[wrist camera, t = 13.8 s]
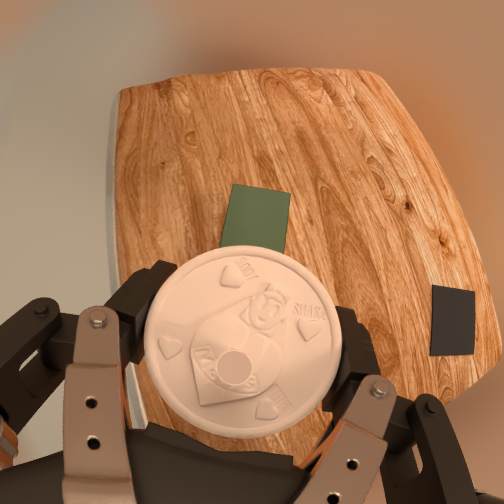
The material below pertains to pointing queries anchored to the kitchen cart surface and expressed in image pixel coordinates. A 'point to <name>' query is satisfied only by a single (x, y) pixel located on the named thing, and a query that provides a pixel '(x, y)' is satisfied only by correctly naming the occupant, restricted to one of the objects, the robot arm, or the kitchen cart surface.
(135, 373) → the kitchen cart surface
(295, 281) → the smoothie
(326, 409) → the robot arm
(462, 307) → the cloth
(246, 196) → the scrubber
